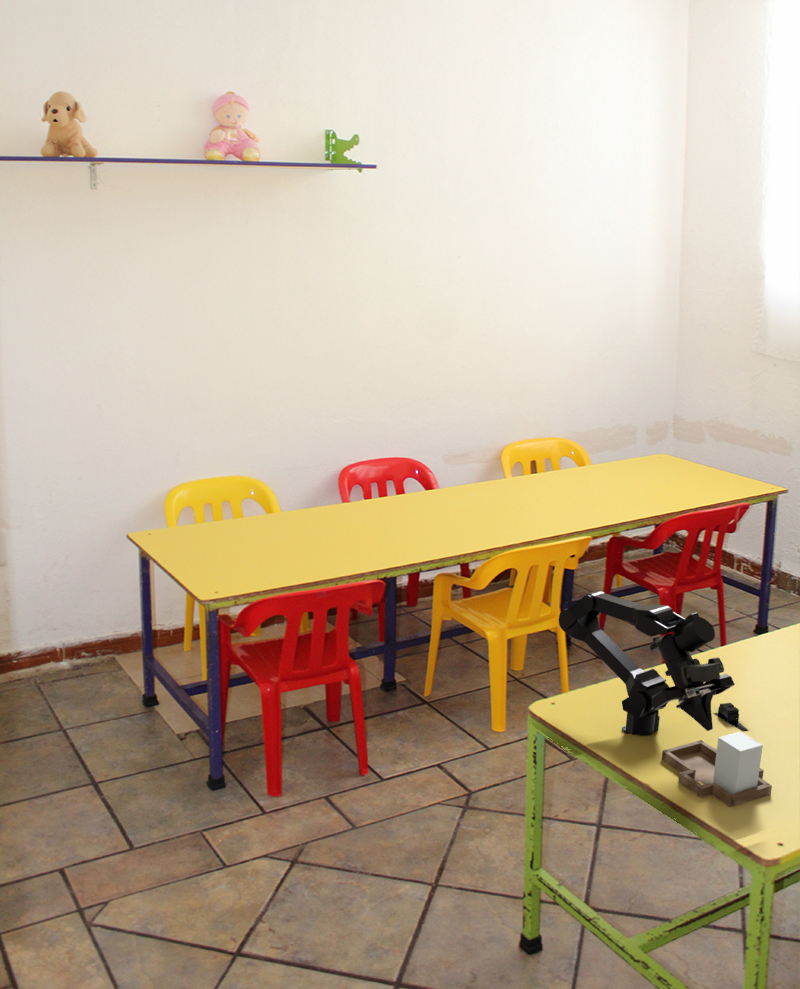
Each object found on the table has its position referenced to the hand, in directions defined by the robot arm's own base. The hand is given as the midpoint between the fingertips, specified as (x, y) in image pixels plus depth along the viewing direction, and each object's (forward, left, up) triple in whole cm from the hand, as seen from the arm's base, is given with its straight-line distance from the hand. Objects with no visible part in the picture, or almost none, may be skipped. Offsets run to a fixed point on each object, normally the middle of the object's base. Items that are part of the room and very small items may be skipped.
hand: (710, 730), depth 205 cm
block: (+1, -8, -9) cm, 12 cm away
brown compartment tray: (0, -3, -11) cm, 11 cm away
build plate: (+19, +19, -11) cm, 29 cm away
